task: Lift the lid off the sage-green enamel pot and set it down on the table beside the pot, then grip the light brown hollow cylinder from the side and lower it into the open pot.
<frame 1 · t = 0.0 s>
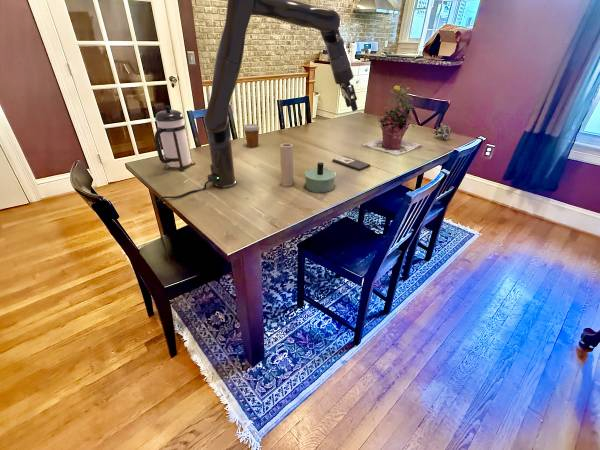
hand: (352, 108, 129), 31 cm above the table, tool tilted 20°, fingers open, 8 cm apart
lid: (320, 174, 134), point 5 cm above the table, touching pot
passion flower: (440, 138, 201), on the table
disposable coffee cup: (252, 146, 187), on the table
chocolate bar: (350, 164, 161), on the table
pot: (319, 186, 137), on the table
light brown hollow cylinder: (287, 183, 139), on the table
coffee press: (179, 167, 156), on the table
potted flower: (391, 146, 187), on the table
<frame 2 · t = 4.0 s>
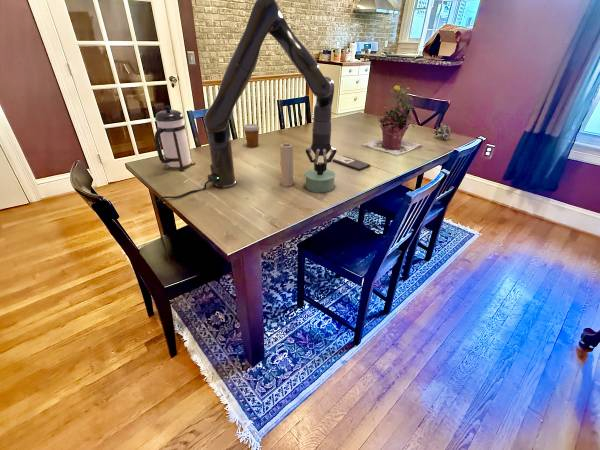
hand: (320, 171, 133), 7 cm above the table, tool pointing down, fingers closed on lid, 2 cm apart
lid: (320, 174, 134), point 6 cm above the table, touching gripper, pot
everything else where it was.
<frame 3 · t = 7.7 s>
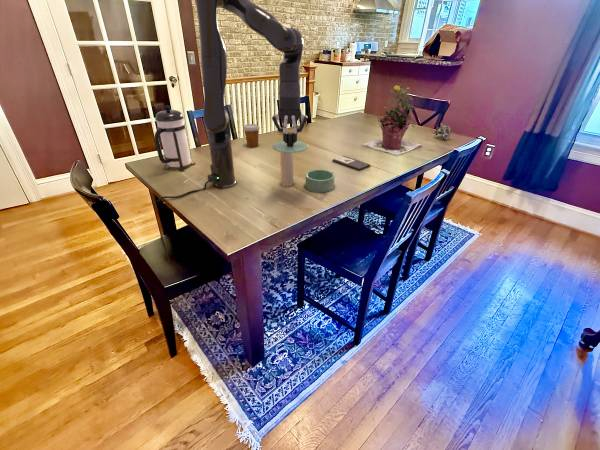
hand: (290, 142, 117), 23 cm above the table, tool pointing down, fingers closed on lid, 2 cm apart
lid: (290, 147, 118), point 21 cm above the table, touching gripper
everything else where it was.
when the fingers open (2 cm above the table, at t = 11.6 s): lid stays where it is, point 1 cm above the table.
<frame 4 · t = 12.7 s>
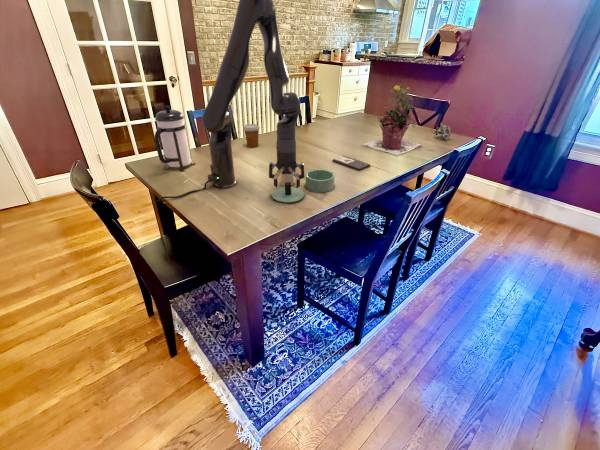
hand: (286, 187, 126), 4 cm above the table, tool pointing down, fingers open, 8 cm apart
lid: (288, 195, 128), point 1 cm above the table
everything else where it was.
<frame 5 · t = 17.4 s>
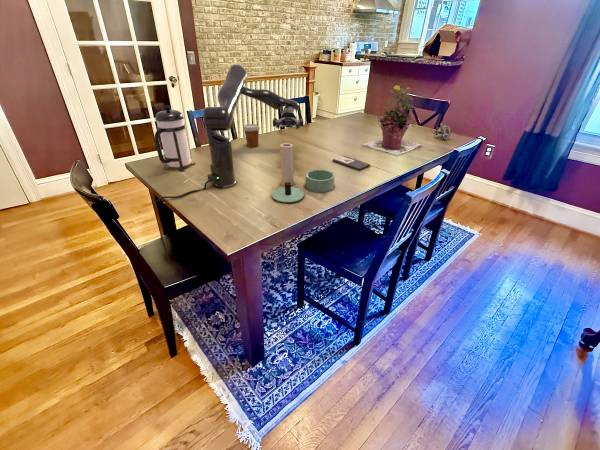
hand: (287, 126, 136), 23 cm above the table, tool horizontal, fingers open, 8 cm apart
nothing on the table moved.
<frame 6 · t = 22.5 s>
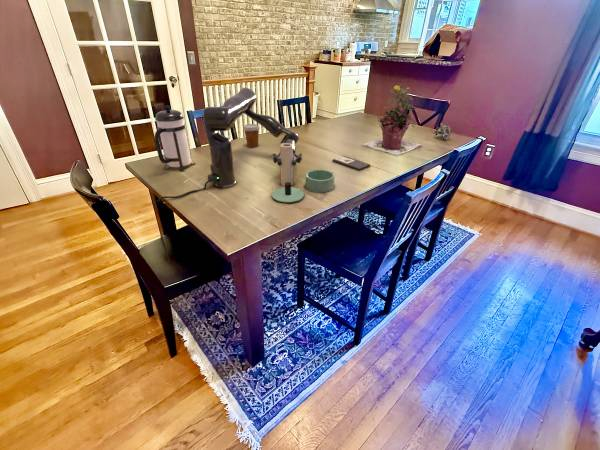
hand: (286, 164, 131), 11 cm above the table, tool horizontal, fingers closed on light brown hollow cylinder, 5 cm apart
light brown hollow cylinder: (287, 183, 139), on the table, touching gripper
everything else where it was.
when the fingers open (11 cm above the table, at t = 31.7 s): light brown hollow cylinder stays where it is, resting on pot.
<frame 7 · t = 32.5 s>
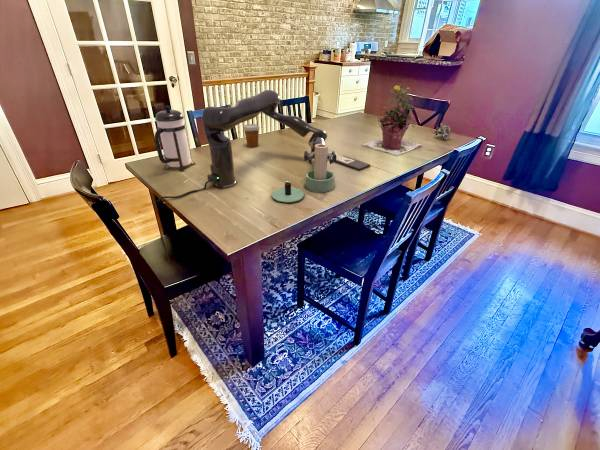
hand: (320, 161, 129), 12 cm above the table, tool horizontal, fingers open, 8 cm apart
light brown hollow cylinder: (319, 185, 137), resting on pot
everything else where it was.
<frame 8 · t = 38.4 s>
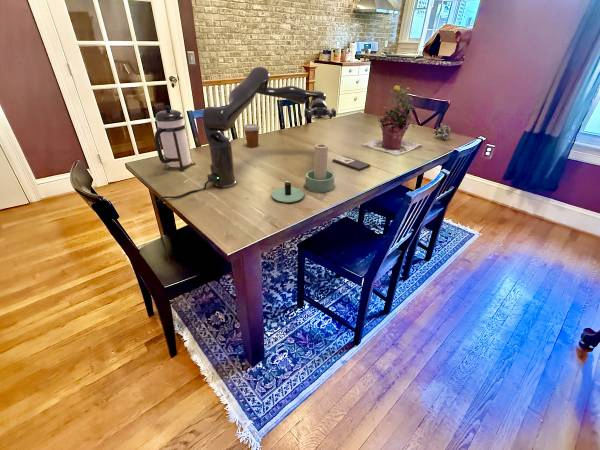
hand: (320, 116, 132), 28 cm above the table, tool horizontal, fingers open, 8 cm apart
nothing on the table moved.
at the end: light brown hollow cylinder 0.2 cm off-centre in the pot, point 0.5 cm above the pot's base; light brown hollow cylinder tilted 0°; lid inside the target area (0.2 cm from its centre), point 0.6 cm above the table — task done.
